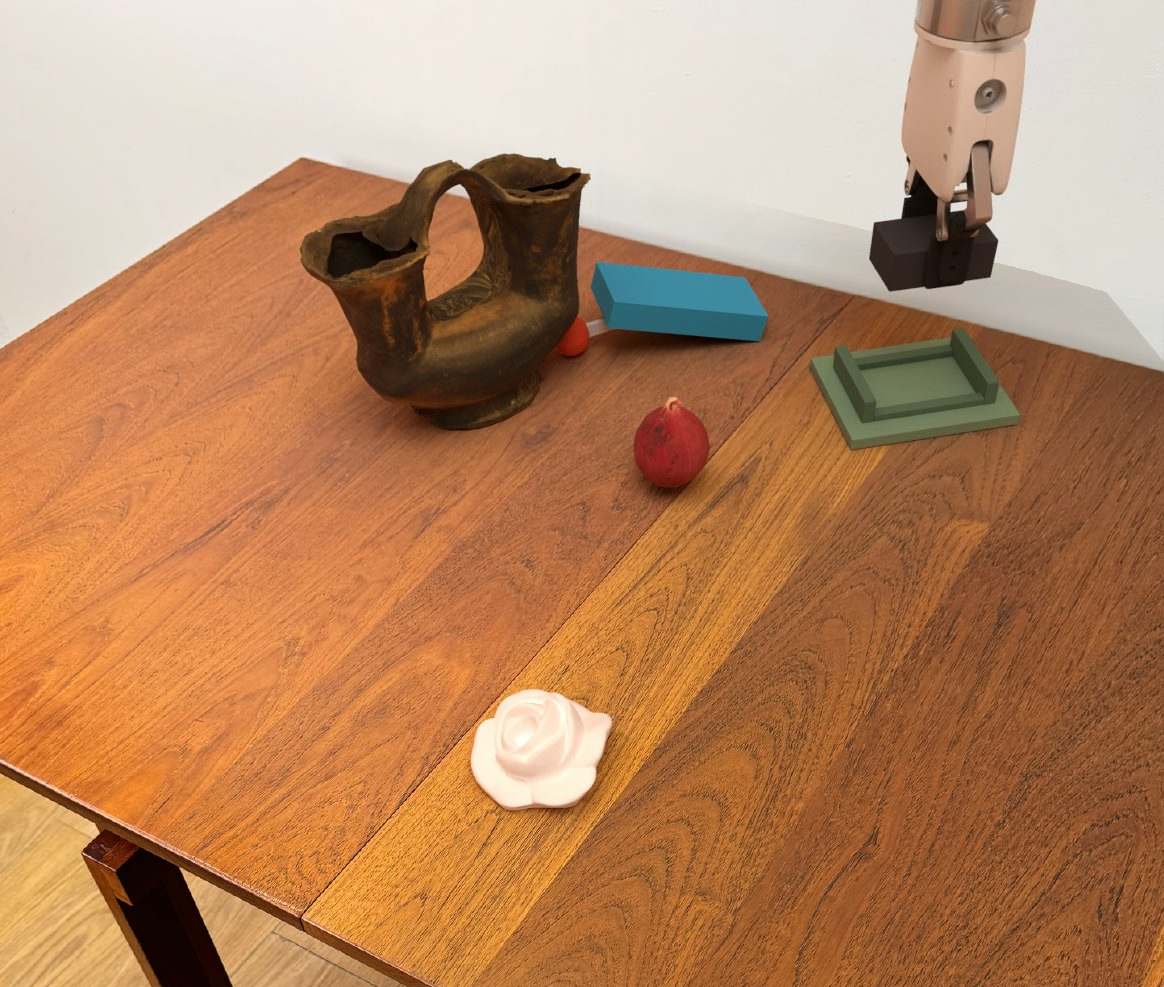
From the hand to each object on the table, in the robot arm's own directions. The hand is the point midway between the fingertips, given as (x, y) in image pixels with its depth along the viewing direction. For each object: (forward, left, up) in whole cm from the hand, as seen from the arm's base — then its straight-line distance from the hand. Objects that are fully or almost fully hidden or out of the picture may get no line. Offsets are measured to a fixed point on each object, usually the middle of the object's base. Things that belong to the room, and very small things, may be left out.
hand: (930, 263), depth 96 cm
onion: (+22, +7, -12) cm, 26 cm away
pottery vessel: (+36, -9, -12) cm, 39 cm away
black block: (0, 0, 0) cm, 0 cm away
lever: (+19, -14, -12) cm, 26 cm away
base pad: (0, 0, -12) cm, 12 cm away
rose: (+36, +33, -12) cm, 50 cm away
